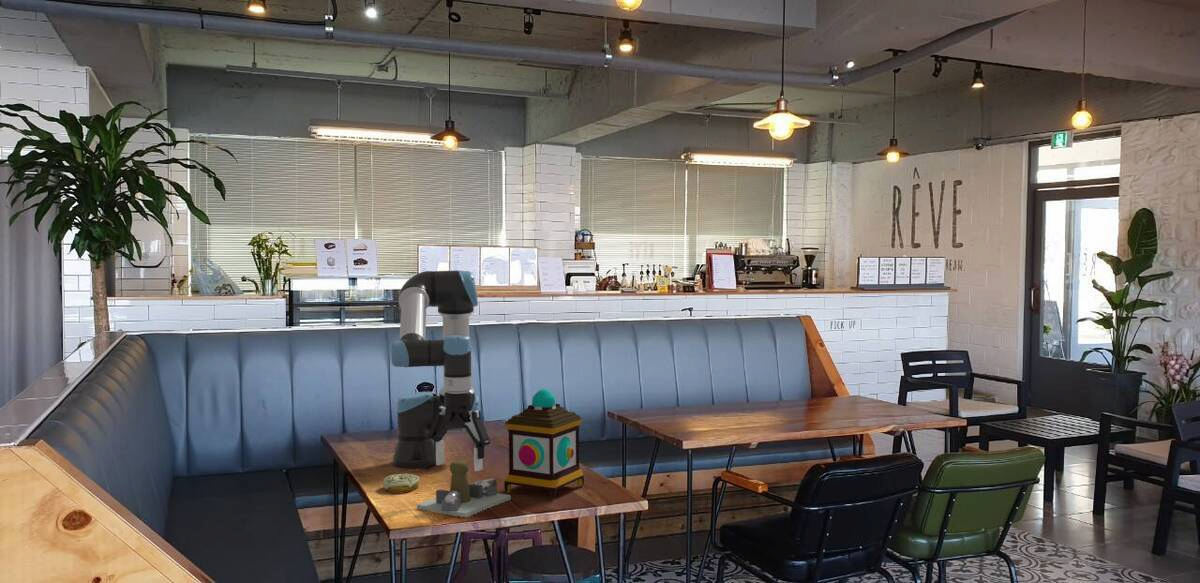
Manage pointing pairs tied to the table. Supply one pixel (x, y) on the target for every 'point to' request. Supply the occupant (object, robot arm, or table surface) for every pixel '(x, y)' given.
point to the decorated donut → (401, 482)
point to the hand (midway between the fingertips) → (459, 467)
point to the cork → (460, 479)
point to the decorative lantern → (544, 446)
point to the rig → (468, 508)
